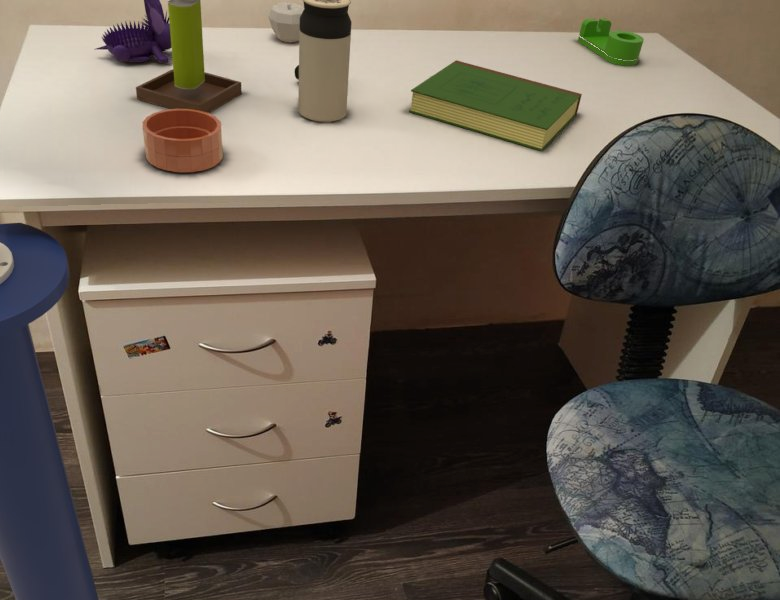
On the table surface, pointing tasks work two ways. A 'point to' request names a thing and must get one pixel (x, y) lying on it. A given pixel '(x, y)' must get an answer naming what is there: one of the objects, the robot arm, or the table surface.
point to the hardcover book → (496, 104)
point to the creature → (141, 37)
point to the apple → (286, 21)
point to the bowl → (182, 140)
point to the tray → (189, 92)
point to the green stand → (611, 42)
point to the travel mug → (324, 59)
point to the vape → (186, 43)
